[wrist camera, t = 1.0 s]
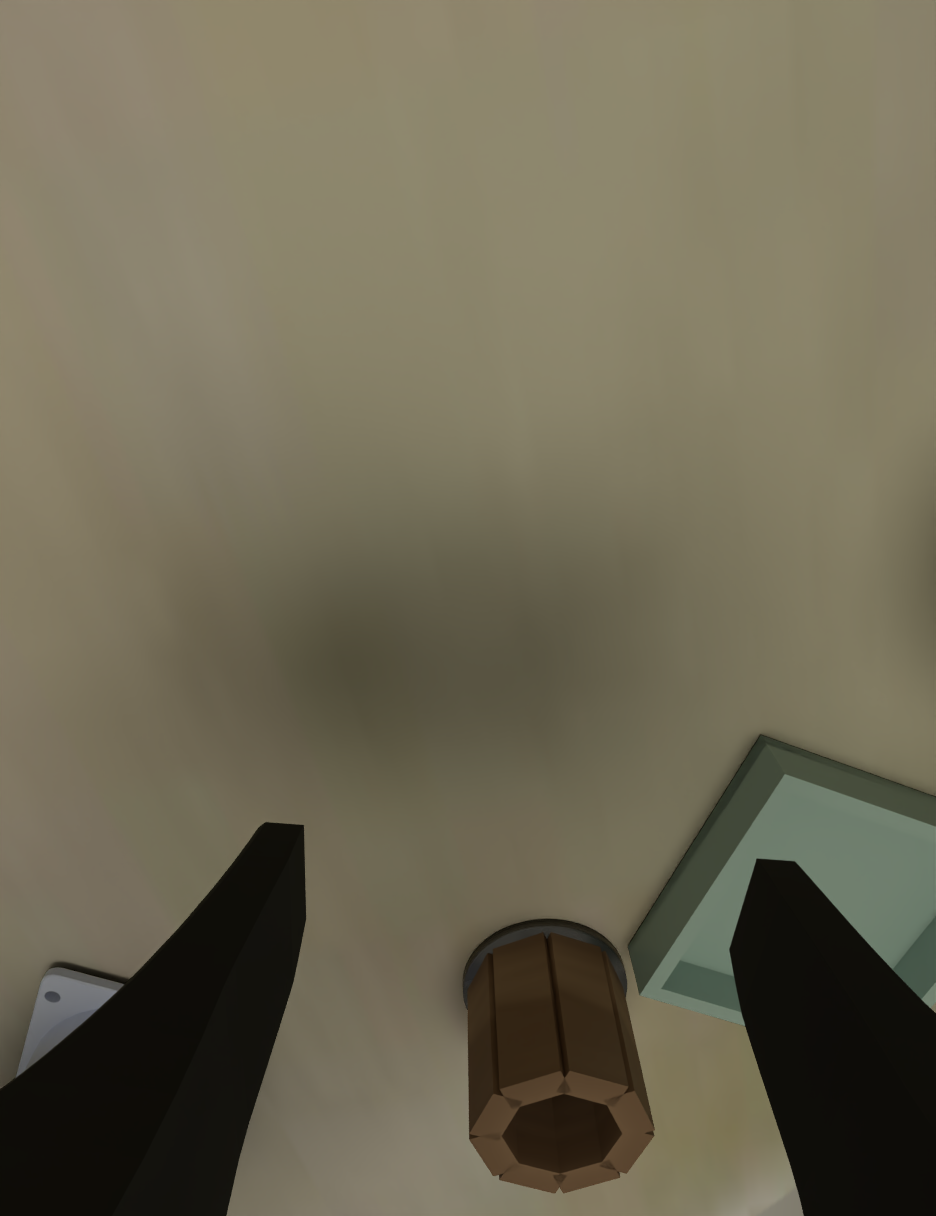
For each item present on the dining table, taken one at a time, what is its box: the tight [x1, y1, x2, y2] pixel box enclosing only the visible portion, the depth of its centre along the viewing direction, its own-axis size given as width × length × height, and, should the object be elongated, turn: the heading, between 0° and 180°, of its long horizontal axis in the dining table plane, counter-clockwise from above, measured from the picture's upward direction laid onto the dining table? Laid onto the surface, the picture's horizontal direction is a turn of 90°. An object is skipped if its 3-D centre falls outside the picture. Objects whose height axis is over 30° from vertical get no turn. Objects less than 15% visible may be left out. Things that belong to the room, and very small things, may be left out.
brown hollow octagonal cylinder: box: [467, 932, 655, 1193], centre depth 26 cm, size 6×5×5 cm
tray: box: [628, 735, 936, 1026], centre depth 26 cm, size 9×9×2 cm
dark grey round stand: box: [463, 920, 627, 1010], centre depth 27 cm, size 6×6×3 cm
